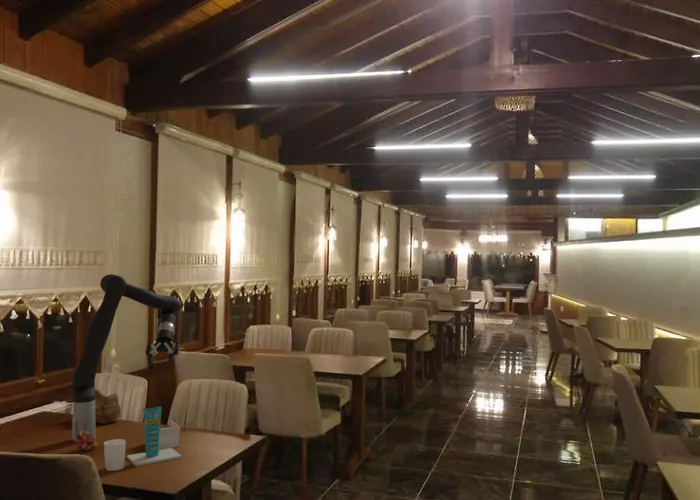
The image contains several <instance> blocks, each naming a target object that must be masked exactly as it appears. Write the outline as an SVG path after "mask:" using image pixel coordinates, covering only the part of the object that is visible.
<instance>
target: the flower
mask: <svg viewBox="0 0 700 500" xmlns="http://www.w3.org/2000/svg"><path fill="white" fill-rule="evenodd" d="M76 439H77V442H76V444H77V446H78V449H77V450H78V451H81V450H82V449H83V451H87V452H89V450H91V449H94V448H95V447H96V446H99V443H98V442H96V440H97V437H94V436H93V435H91V434H90V433H89V432H87V431H79V433H78V434H77V436H76Z"/></svg>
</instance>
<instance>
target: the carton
mask: <svg viewBox="0 0 700 500" xmlns="http://www.w3.org/2000/svg"><path fill="white" fill-rule="evenodd" d="M180 434H181V426H180V425H178V424H177V423H176V422H174V421H172V420H169V426H168V427H163V428H160V437H159V450H161V449H167V448H172V449H174V448H179V447H180V444H181V443H180V442H181V441H180V439H181V438H180V436H181V435H180ZM144 444H145V445H146V440H145V439H144Z"/></svg>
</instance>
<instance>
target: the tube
mask: <svg viewBox="0 0 700 500" xmlns="http://www.w3.org/2000/svg"><path fill="white" fill-rule="evenodd" d="M162 408H163V407H162V405H161V406H156V407H150V408H143V409H142V413H143V419H144V421H143V423H144V441H145V440H146V444H145V452H146V456H147V457H155V456H158V455H159V437H160V429H161V420H162V419H161V418H162V417H161V416H162Z"/></svg>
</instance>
